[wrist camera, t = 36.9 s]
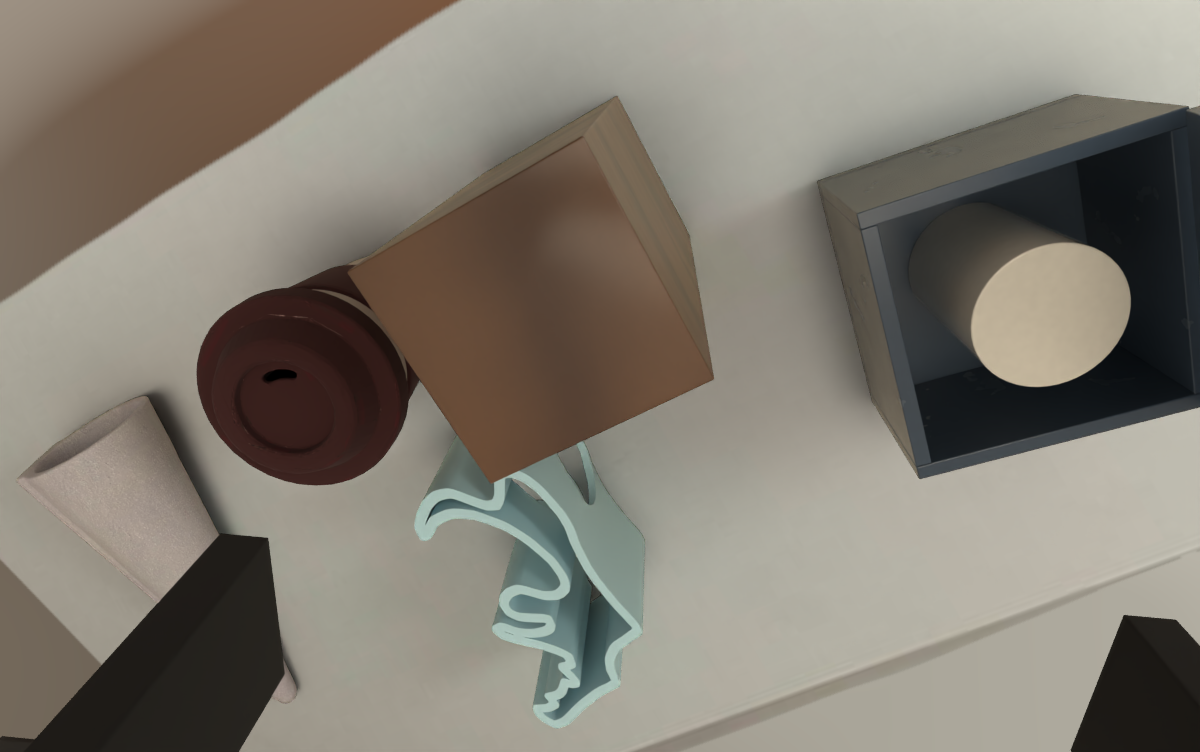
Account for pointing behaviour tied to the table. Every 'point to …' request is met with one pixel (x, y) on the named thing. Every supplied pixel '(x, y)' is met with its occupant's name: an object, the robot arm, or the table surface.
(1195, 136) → the box lid
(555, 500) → the squiggly pen holder
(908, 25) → the table surface
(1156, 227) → the grey box
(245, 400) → the coffee cup
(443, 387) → the stand
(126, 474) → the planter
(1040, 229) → the beige canister
